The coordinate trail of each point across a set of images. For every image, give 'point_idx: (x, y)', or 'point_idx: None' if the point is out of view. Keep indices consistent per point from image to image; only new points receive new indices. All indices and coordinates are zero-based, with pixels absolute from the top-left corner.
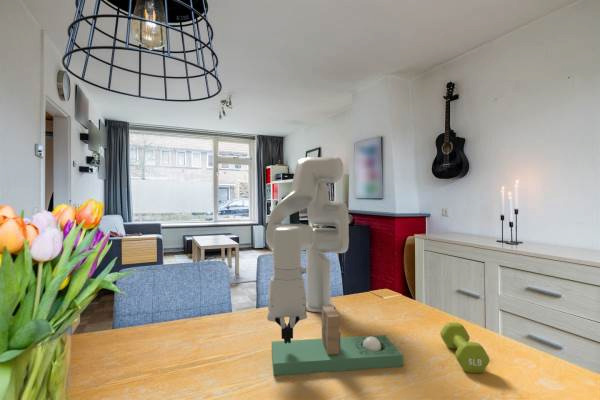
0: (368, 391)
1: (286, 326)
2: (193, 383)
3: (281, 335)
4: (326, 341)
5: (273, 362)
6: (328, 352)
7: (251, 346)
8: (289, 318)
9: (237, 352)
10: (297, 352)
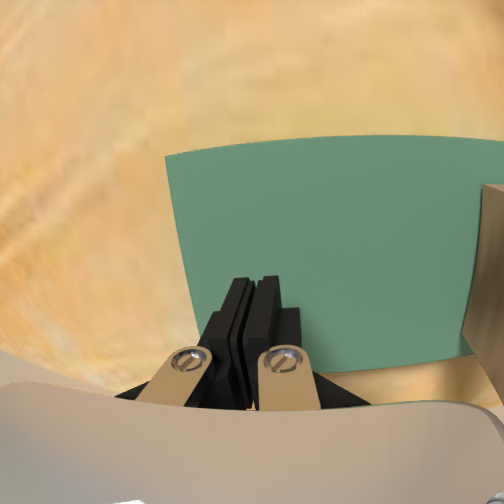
0: (481, 402)
1: (238, 408)
2: (31, 335)
3: (213, 312)
4: (490, 336)
5: None
6: (468, 339)
7: (90, 105)
8: (260, 399)
9: (53, 166)
10: (327, 297)
